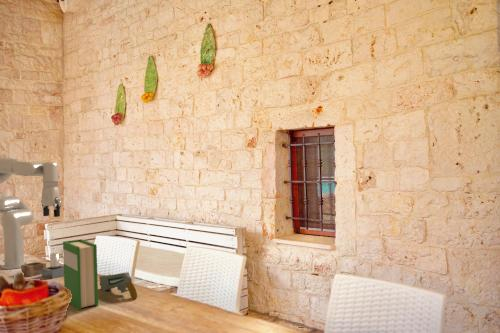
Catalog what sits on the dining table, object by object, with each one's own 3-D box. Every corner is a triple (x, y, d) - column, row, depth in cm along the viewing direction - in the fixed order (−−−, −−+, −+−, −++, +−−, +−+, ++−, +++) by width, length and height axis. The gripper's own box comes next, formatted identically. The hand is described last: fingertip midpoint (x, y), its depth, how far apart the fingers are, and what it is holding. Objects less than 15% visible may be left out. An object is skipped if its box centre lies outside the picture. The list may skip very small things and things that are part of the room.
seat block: (41, 276, 214) (41, 268, 214) (58, 272, 221) (58, 264, 221) (52, 278, 209) (52, 270, 209) (68, 274, 216) (68, 266, 216)
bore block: (21, 274, 219) (21, 265, 219) (37, 271, 226) (36, 261, 226) (30, 276, 214) (30, 266, 214) (46, 272, 221) (46, 263, 221)
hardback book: (98, 306, 166) (96, 244, 166) (78, 310, 161) (76, 247, 161) (83, 295, 179) (81, 239, 179) (64, 299, 175) (63, 241, 175)
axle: (49, 276, 214) (48, 254, 214) (56, 274, 218) (55, 252, 218) (53, 277, 212) (53, 255, 212) (61, 275, 216) (60, 253, 215)
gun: (110, 308, 189) (103, 275, 192) (141, 297, 174) (132, 261, 177) (104, 310, 186) (96, 276, 190) (134, 299, 171) (125, 262, 175)
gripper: (34, 185, 232) (35, 216, 232) (53, 185, 223) (54, 217, 223) (47, 184, 239) (48, 214, 239) (66, 184, 229) (67, 216, 229)
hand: (51, 216), depth 231 cm, fingers open, 9 cm apart
